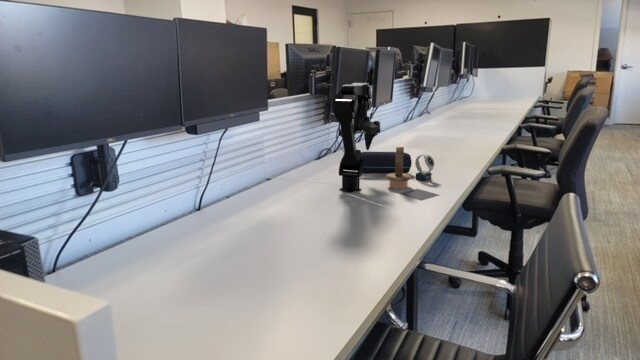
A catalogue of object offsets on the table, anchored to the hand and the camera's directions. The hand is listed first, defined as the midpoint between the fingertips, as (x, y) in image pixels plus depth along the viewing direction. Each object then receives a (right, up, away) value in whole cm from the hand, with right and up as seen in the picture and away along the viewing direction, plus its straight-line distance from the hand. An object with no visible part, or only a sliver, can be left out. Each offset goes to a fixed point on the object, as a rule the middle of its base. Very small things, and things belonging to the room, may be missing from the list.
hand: (359, 151), depth 189 cm
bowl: (+15, -15, -6) cm, 22 cm away
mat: (+21, -18, -17) cm, 32 cm away
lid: (+15, -11, -7) cm, 20 cm away
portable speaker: (+12, -9, +17) cm, 23 cm away
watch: (+28, -12, +5) cm, 31 cm away
